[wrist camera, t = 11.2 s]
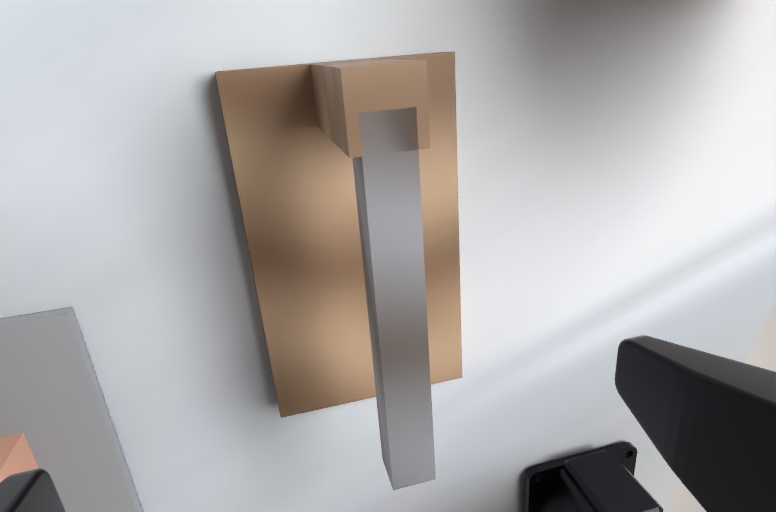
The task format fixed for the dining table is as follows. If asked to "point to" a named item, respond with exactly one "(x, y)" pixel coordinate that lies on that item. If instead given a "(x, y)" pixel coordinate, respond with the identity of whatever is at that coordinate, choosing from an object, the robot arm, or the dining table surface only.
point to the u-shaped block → (15, 455)
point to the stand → (354, 236)
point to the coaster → (62, 411)
